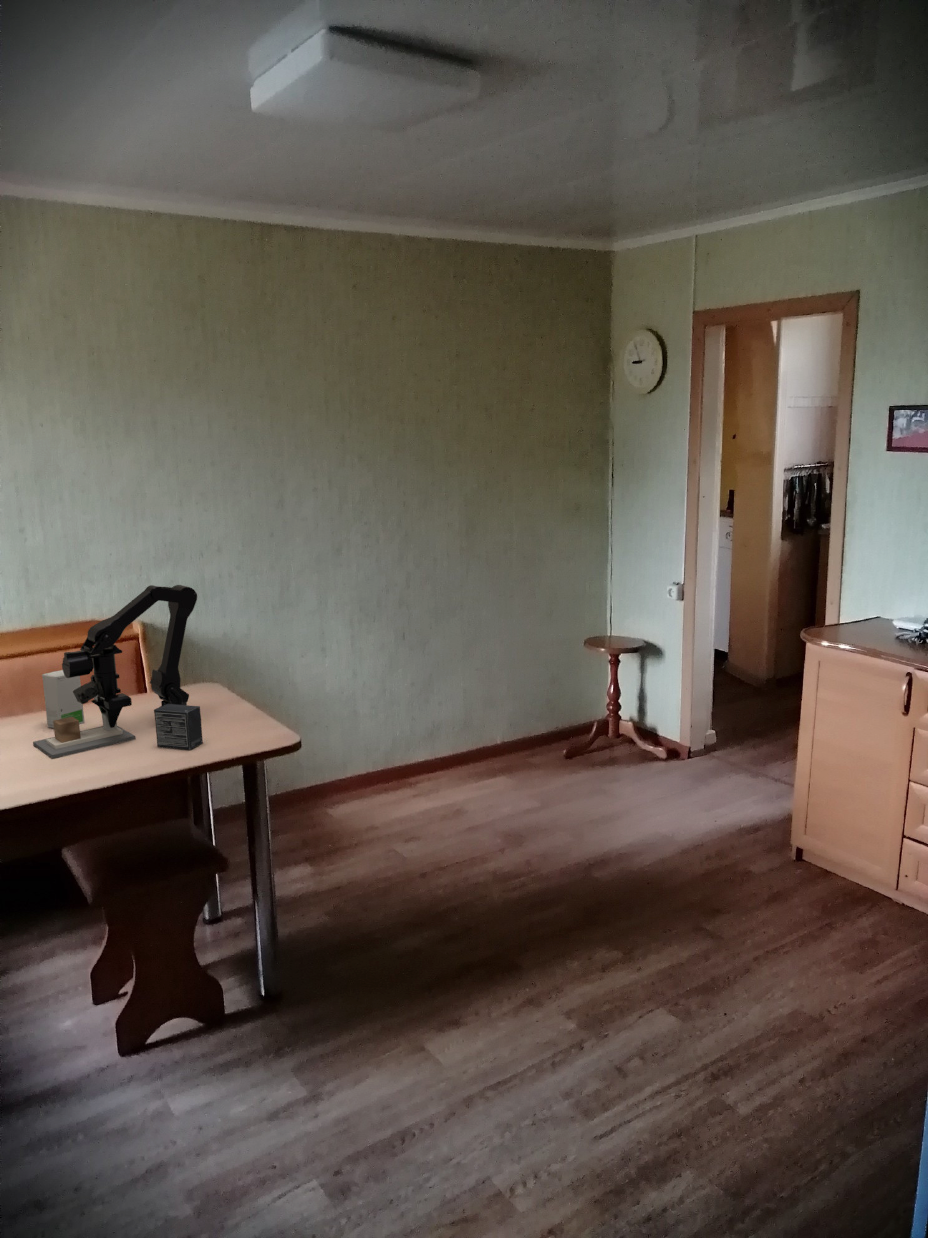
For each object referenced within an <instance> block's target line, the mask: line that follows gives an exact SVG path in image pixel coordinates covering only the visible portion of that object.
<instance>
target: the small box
mask: <svg viewBox="0 0 928 1238" xmlns="http://www.w3.org/2000/svg"><path fill="white" fill-rule="evenodd" d="M160 706H161V707H160ZM160 706H159V707H157V708H154V709H153V713H154V721H155V725H154V726H155V732H156V733H155V734H156V736H155V737H156V745H157V746H156V747H157V748H162V747H163V749H164V748H165V749H175V750H185V751H190V750H193V749H195V748H197V747H198V746H200V745H202V744H203V743H204V742H203V739H204V738H203V730H202V729H203V728H202V716H201V706H199V705H188V704H187V705H176V704H166V705H164V706H162V705H160Z"/></svg>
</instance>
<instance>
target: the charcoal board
mask: <svg viewBox="0 0 928 1238" xmlns="http://www.w3.org/2000/svg"><path fill="white" fill-rule="evenodd" d="M100 727H103V725H101V726H97V727H94V728H90V729H89V728H88V729H85V730H80V732H82V731H86V730H91V729H95V728H100ZM117 727H118V728H120V729H121V730H123V734H120V735H115V736H111V737H107V738H102V739H98V740H94V741H89V742H85V743H81V744H76V745H72V746H68V747H63V748H59V749H55V748H53V747H52V746H50V745H49V744H47V742H46V739H51V738H55V736H53V737H48V738H44V739H39V740H34V741H32V745H33V746H34V747H35V748H36V749H38V750H39V751H41V752H42V753H44V754H45V755H46V756H48V757H49V758H51V760H53V759H54V760H55V759H59V758H63V757H66V756H70V755H74V754H78V753H83V752H88V751H92V750H96V749H100V748H105V747H110V746H113V745H117V744H121V743H124V742H129V741H134V740H136V735H135V734H133V733H131V732H129V731H127V730H125V728H124V729H123V727H120V726H118V725H117Z"/></svg>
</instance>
